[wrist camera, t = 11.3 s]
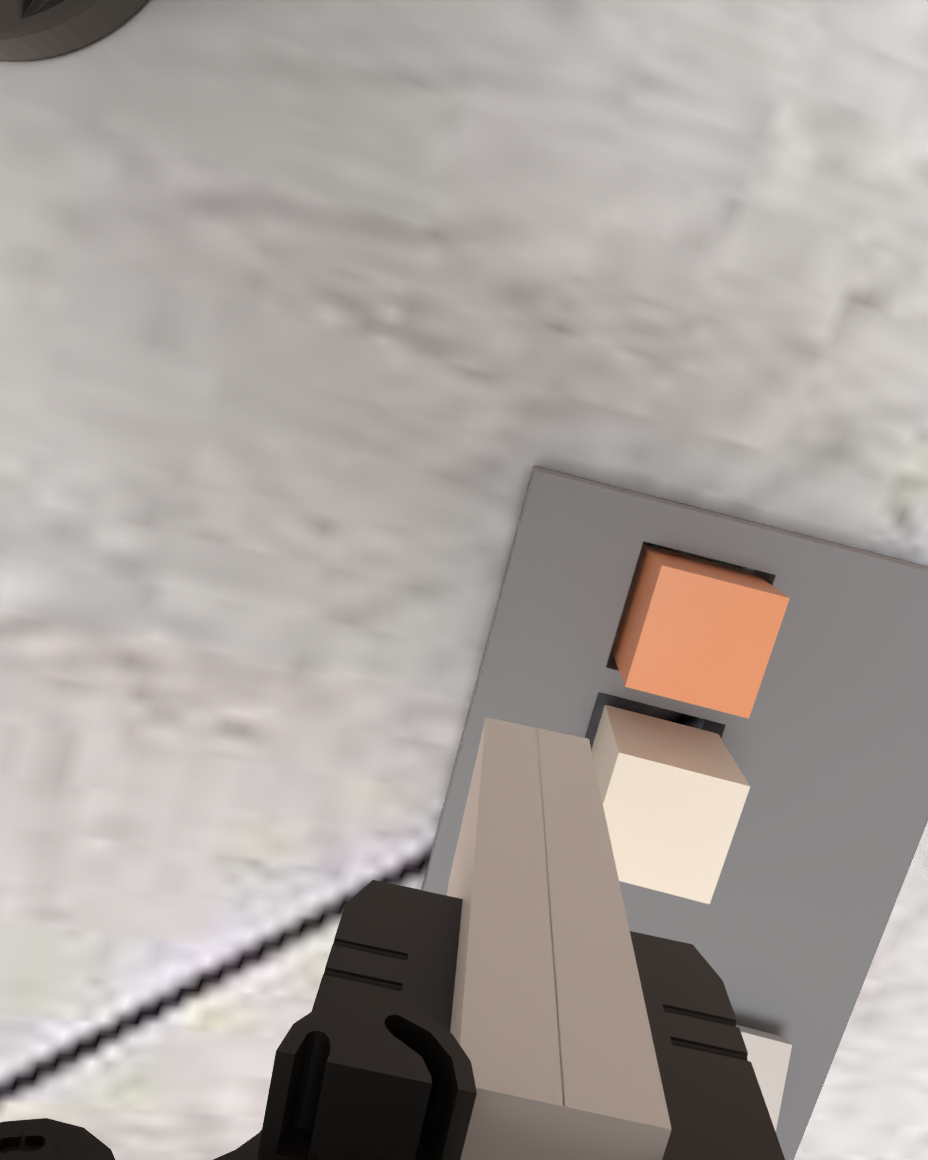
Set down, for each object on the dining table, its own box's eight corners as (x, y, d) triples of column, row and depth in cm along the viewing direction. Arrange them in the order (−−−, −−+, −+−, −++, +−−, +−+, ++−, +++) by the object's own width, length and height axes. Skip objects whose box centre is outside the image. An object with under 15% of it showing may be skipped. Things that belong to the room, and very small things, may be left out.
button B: (604, 704, 33) (618, 752, 28) (718, 733, 33) (750, 786, 28) (573, 808, 34) (582, 871, 29) (683, 837, 34) (709, 904, 29)
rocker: (711, 1018, 35) (717, 1025, 34) (784, 1037, 35) (792, 1044, 34) (669, 1229, 34) (674, 1242, 33) (743, 1249, 34) (751, 1262, 33)
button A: (642, 543, 34) (661, 565, 29) (753, 571, 34) (789, 598, 29) (610, 649, 34) (624, 686, 30) (718, 677, 34) (748, 718, 30)
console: (533, 465, 34) (535, 473, 30) (981, 580, 34) (1040, 602, 30) (356, 1133, 41) (340, 1208, 37) (730, 1231, 41) (752, 1317, 37)
